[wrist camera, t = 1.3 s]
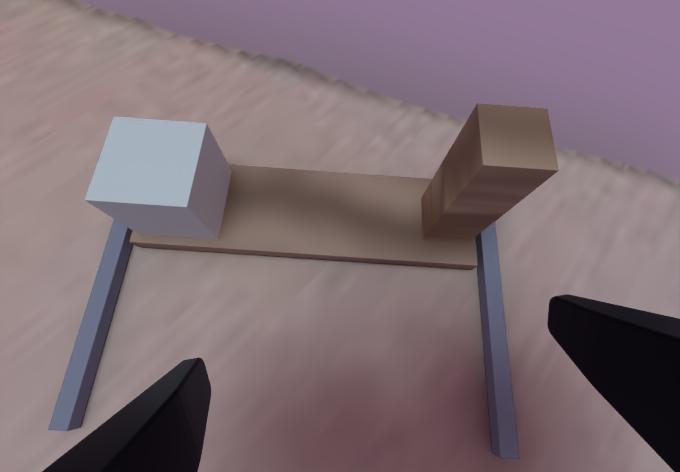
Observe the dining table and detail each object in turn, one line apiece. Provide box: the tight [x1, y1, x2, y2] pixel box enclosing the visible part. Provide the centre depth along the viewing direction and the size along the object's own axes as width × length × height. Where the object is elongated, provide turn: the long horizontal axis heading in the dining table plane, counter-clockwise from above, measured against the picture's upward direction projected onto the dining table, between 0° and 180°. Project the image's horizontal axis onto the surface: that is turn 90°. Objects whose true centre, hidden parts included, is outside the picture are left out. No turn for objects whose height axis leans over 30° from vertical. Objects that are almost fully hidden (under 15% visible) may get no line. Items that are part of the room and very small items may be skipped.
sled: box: [129, 104, 559, 269], centre depth 18 cm, size 6×22×10 cm, turn 87°
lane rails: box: [48, 219, 519, 459], centre depth 21 cm, size 17×25×1 cm
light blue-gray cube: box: [85, 117, 232, 240], centre depth 20 cm, size 5×5×5 cm
